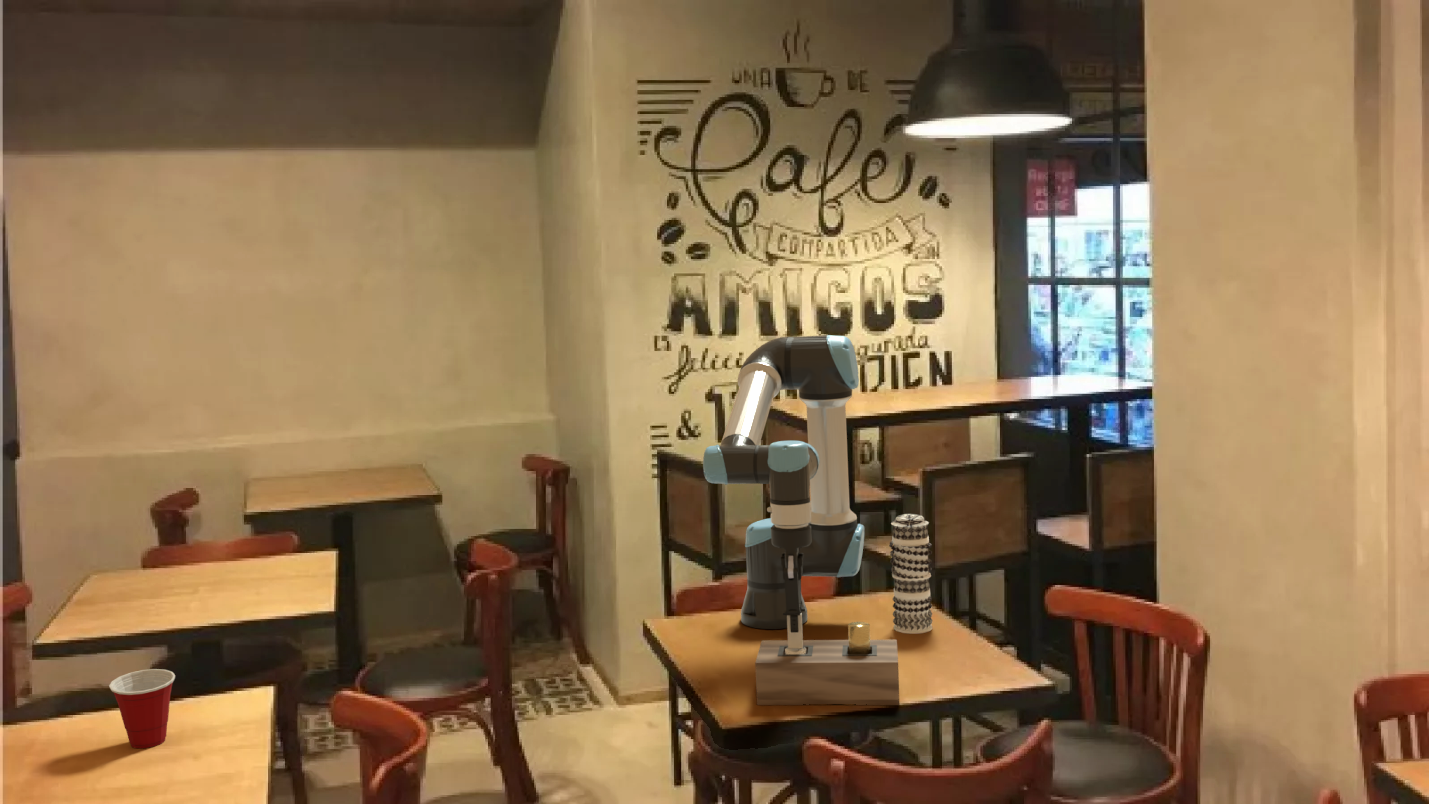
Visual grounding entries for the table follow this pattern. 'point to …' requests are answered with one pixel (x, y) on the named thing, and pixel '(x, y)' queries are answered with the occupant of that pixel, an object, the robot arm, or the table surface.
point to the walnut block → (827, 674)
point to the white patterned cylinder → (911, 574)
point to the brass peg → (859, 638)
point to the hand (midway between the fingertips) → (795, 647)
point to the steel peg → (795, 651)
